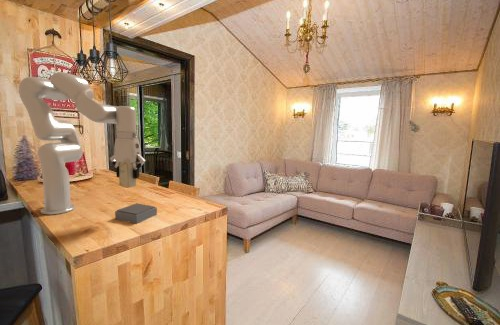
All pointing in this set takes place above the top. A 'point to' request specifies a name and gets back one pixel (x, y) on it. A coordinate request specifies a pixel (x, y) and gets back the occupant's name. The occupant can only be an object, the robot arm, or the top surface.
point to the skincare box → (126, 174)
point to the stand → (136, 213)
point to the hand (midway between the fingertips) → (127, 177)
